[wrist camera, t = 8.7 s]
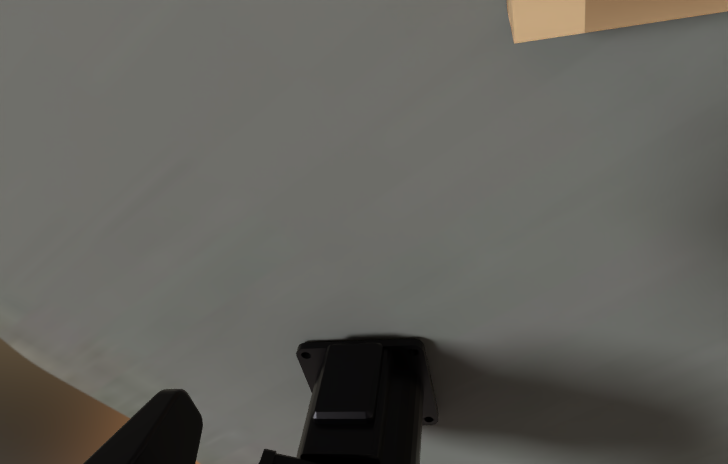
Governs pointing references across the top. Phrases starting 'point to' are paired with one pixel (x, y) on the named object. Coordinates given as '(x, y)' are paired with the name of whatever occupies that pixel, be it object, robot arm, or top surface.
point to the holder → (597, 15)
